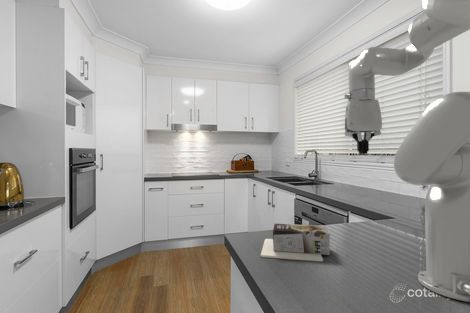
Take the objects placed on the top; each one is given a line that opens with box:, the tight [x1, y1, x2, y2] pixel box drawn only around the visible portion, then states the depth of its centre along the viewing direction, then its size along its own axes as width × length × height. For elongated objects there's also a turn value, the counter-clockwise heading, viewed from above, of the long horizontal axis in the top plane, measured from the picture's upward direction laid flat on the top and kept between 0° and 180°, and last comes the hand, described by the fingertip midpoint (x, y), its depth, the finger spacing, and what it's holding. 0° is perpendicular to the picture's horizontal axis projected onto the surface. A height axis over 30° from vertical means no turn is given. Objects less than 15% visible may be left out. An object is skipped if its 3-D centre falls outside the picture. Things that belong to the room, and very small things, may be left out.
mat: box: [260, 238, 324, 262], centre depth 78 cm, size 16×17×1 cm
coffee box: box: [272, 223, 331, 256], centre depth 78 cm, size 9×6×16 cm
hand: (363, 153), depth 81 cm, fingers closed
